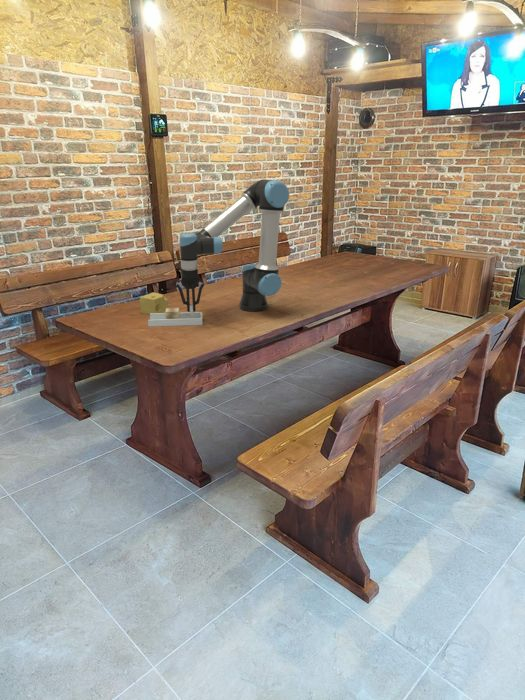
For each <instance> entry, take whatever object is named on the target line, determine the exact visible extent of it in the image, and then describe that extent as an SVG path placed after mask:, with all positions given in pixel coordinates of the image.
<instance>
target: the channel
mask: <svg viewBox="0 0 525 700" xmlns="http://www.w3.org/2000/svg"><path fill="white" fill-rule="evenodd" d="M179 315H180V319H166V313H150V314H149V319H147V325H148V328H149V327H178V326H179V327H181V326H203V324H204V323H203V311H195V312H193V318H191V319H190V312H188V311H186V312H179Z"/></svg>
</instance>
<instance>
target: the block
mask: <svg viewBox="0 0 525 700" xmlns="http://www.w3.org/2000/svg"><path fill="white" fill-rule="evenodd" d="M165 313H166V319H180V315H179V313H180V307H172V308H171V307H169V308H166V312H165Z"/></svg>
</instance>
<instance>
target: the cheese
mask: <svg viewBox="0 0 525 700" xmlns="http://www.w3.org/2000/svg"><path fill="white" fill-rule="evenodd" d="M166 308H170V307H169V299H168V298H166V297H165V295H164V294H162V293H158V292H150V293H147V294H146V295H143V296H142V295H141V296H139V309H140V313H141V314H145V315H150V313H165V312H166Z"/></svg>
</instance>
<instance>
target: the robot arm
mask: <svg viewBox="0 0 525 700" xmlns="http://www.w3.org/2000/svg"><path fill="white" fill-rule="evenodd" d="M289 198H290V192H289V187H287V186H286V184H285V183H284V182H283V181H280V180H277V179H273V180H272V179H265V178H264V179H259V180H257V181H256V182H254V183H253V184H251V185H250V186H249V187H247V189H245V190H244V191H243V192H242V193H241V195H240V197H239V198H238V199H237V200H236V201H235V202H233V203H232V204H231V205H230V206H228V207H227V208H226V209H225V210H224V211H223V212H222V213H220V214H219V215H218V216H216V218H214V219H213V220H212V221H210V222H209V223H208V224H207V225H206V226H205V227H203V228H202V229H201V230H200V231H198V232H194V233H183V234H181V235H179V249H180V251H179V252H180V268H181V271H180V273H181V279H180V281H179V282H177V283H176V285H175V286H176V288H177V289H178V291H179V295H180V297H181V300H182V303H183V305H186V312H190V319H191V318H193V312H197V311H196V305H199V304H200V300H201V295H202V290H203V289H204V286H205V284H204V282H202V281H200V279H199V269H198V268H199V265H198V256H202V255H216V254H221V253H222V251H223V248H224V247H223V241H222V239H221V237H220V236H221V235H222V234H223V233H225V232H226V231H227V230H228V229H230V228H231V227H232V226H233V225H234V224H236V223H237V222H238V221H239V220H241V219H242V218H243V217H244V216H245V215H246V214H248V213H249V212H250V211H251V210H252V211H253V210H256V209H257V208H258V207H259V208H258V210H259V211H260V212H261V226H260V237H259V238H260V240H259V251H258V252H259V254H258V263H252V264H244V265H243V266H242V269H241V270H242V271H241V274H242V277H241V278H242V293H241V298H240V301H239V306H238V307H239V309H240V310H242V311H247V312H260V311H261V312H262V311H265V310H267V309H268V307H269V302H268V300H267V297H271V296H274V295H276V294H277V293H278V292H279V291H280V289H281V287H282V277H280V275H279V267H278V266H277V259H278V245H279V244H278V243H279V242H278V241H279V229H280V222H281V221H280V219H281V218H280V217H281V214H282V213H283V212H284V211H285V209H284V208H285V206H286V204H287V203H288V202H289ZM197 286H198V292H197V297H196V294H195V293H196V292H195V291H196V290H195V289H196V288H197ZM183 287H184V288H185V292H186V298H185V295H184V291H183ZM190 290H191V295H192V296H191V298H190ZM266 296H267V297H266ZM190 299H192V301H191V300H190ZM190 301H191V302H192V304H190V303H191V302H190Z"/></svg>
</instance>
